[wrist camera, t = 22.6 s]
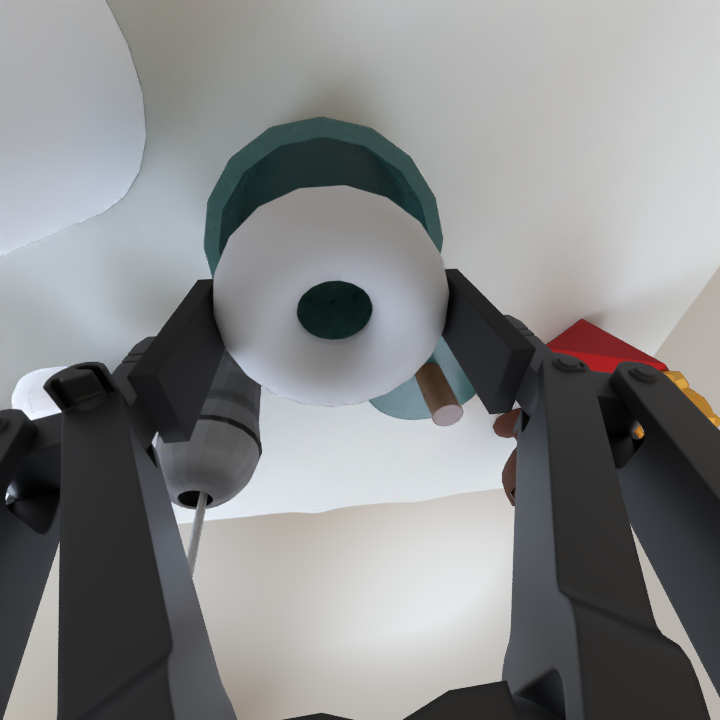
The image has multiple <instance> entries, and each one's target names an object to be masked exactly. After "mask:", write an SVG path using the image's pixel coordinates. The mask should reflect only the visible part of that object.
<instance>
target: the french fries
mask: <svg viewBox="0 0 720 720" xmlns="http://www.w3.org/2000/svg"><path fill="white" fill-rule="evenodd" d="M546 346H547V347H548V348H550V349H551V350H552V351H553V352H554V353H565V354H568V355H572V356H574V357H576V358H578V359H580V360H582V361H583V362H585V363H586V364H587V365H588V367H589V368H590V370H592V371H599V372H607V373H613V371H614V370H615V368H616V367H617V365H618V363H620V362H623V361H634V362H642V363H645V364H646V365H647V364H648V365H651V366H653V367H654V368H656V369H658V370H660V371H661V372H663V373H664V374H665V375H666V376H668V377H669V378H670V379H671V380H672V382H673V383H674V384H675V385H676V386H677V387H678V388H679V389H680V390H681V391H682V392H683V393H684V394H685V395H686V396H687V397H688V398H689V399H690V400H691V401H692V402H693V403H694V404H695V405H696V406H697V407H698V408H699V409H700V411H701V412H702V413H703V414H704V415H705V416H706V417H707V418H708V419H709V420H710V421H711V422H712V423H713V424H714V425H715V426H716V427H718V426H719V425H720V418H719V417H718V416H717V415H715V414H714V413H713V411H712V409H711V407H710V405H709V404H708V402H707V401H706V400H705V398H704V397H702V396H701V395H699V394H698V393H696V392H695V391H693V390H692V389H690V388H688V387H689V383H688V382H687V380H686V379H685V377H684V376H683V374H681V372H677V371H669V370H668V368H667V366H666V365H665V364H664V363H662V362H660V361H658V360H657V359H655V358H653V357H651V356H649V355H647V354H646V353H644V352H642V351H640V350H638V349H636V348H635V347H633V346H631V345H629V344H627V343H625V342H624V341H622V340H620V339H618V338H616V337H614V336H613V335H611V334H609V333H607V332H605V331H603V330H602V329H600V328H598V327H596V326H594V325H592V324H591V323H589V322H587V321H585V320H583V319H581V320H579V321H578V322H577V323H575V324H574V325H573V326H571V327H570V328H569V329H567V330H566V331H565V332H563V333H562V334H561V335H559V336H558V337H557V338H555V339H554V340H553V341H551V342H550V343H549V344H547V345H546ZM635 433H636V434H637V436H638V437H639V438H642V437H643V436H644V432H643V430H642V428H641V425H639V427H638V428H637V429H636V430H635Z"/></svg>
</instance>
